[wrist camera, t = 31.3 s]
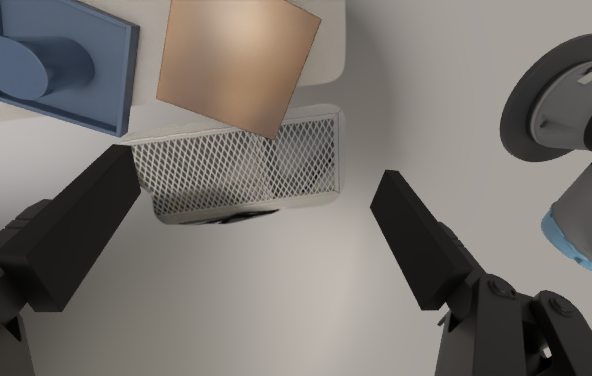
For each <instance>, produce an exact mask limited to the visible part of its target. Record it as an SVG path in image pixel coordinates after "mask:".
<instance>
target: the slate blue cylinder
mask: <svg viewBox="0 0 592 376" xmlns="http://www.w3.org/2000/svg"><path fill="white" fill-rule="evenodd" d="M93 76H94V64H93V61H92V59H91V57H90V55H89V54H88V52H87V51H86V50H85V49H84V48H83V47H82V46H81V45H80V44H78V43H77V42H75V41H74V40H72V39H69V38H67V37H62V36H0V90H1V91H3V92H4V93H6V94H8V95H10V96H13V97H16V98H19V99H25V100H31V99H37V98H40V97H44V96H47V95H51V94H55V93H58V92H62V91H65V90H69V89H73V88H76V87H80V86H84V85H86V84H88V83H89V82H90V81H91V80H92V78H93Z"/></svg>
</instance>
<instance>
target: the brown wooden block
mask: <svg viewBox="0 0 592 376" xmlns="http://www.w3.org/2000/svg"><path fill="white" fill-rule="evenodd" d="M320 23H321V19H320V18H319V17H317V16H315V15H313V14H311V13H309V12H307V11H305V10H303V9H302V8H300V7H298V6H296V5H294V4H292V3H290V2H288V1H286V0H171V6H170V13H169V19H168V25H167V32H166V38H165V45H164V51H163V57H162V64H161V70H160V76H159V83H158V89H157V96H156V99H159V100H162V101H164V102H167V103H170V104H173V105H176V106H178V107H181V108H184V109H187V110H190V111H193V112H196V113H198V114H201V115H204V116H207V117H209V118H212V119H215V120H218V121H221V122H223V123H226V124H229V125H232V126H235V127H237V128H240V129H243V130H246V131H249V132H252V133H254V134H257V135H260V136H263V137H266V138H268V139H271V140H275V138H276V135H277V133H278V130H279V128H280V125H281V123H282V120H283V117H284V115H285V112H286V110H287V107H288V105H289V102H290V100H291V97H292V94H293V92H294V89H295V87H296V84H297V82H298V79H299V76H300V74H301V71H302V69H303V66H304V64H305V61H306V58H307V56H308V53H309V51H310V48H311V46H312V43H313V41H314V38H315V35H316V33H317V30H318V28H319V25H320Z"/></svg>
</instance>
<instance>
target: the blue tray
mask: <svg viewBox="0 0 592 376" xmlns="http://www.w3.org/2000/svg"><path fill="white" fill-rule="evenodd" d="M139 28H140V27H139V26H137V25H135V24H132V23H130V22H127V21H125V20H123V19H120V18H118V17H116V16H113V15H111V14H109V13H106V12H104V11H101V10H99V9H97V8H94V7H92V6H90V5H87V4H85V3H83V2H80V1H78V0H0V36H62V37H67V38H69V39H72V40H74V41H75V42H77V43H78V44H80V45H81V46H82V47H83V48H84V49H85V50H86V51H87V52H88V54H89V55H90V57H91V59H92V61H93V64H94V76H93V78H92V80H91V81H90V82H89V83H88V84H86V85H84V86H80V87H76V88H73V89H69V90H65V91H62V92H58V93H55V94H51V95H47V96H44V97H40V98H37V99H31V100H25V99H19V98H16V97H13V96H10V95H8V94H6V93H4V92H3V91H1V90H0V101H1V102H4V103H7V104H11V105H14V106H17V107H21V108H24V109H27V110H31V111H34V112H37V113H40V114H44V115H47V116H50V117H54V118H57V119H60V120H64V121H67V122H70V123H73V124H77V125H80V126H83V127H87V128H90V129H93V130H96V131H100V132H103V133H107V134H110V135H113V136H116V137H122V136H123V135H125V134H126V133H127V132H128V124H129V116H130V107H131V98H132V89H133V81H134V72H135V63H136V54H137V46H138V37H139Z"/></svg>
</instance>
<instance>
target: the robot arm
mask: <svg viewBox="0 0 592 376" xmlns="http://www.w3.org/2000/svg"><path fill="white" fill-rule="evenodd" d="M526 131H527V134H528V136H529V138H530V139H531V140H532V141H534V142H535V143H538V144H540V145H543V146H545V147H550V148H562V149H578V150H589V151H592V60H586V61H581V62H578V63H575V64H573V65H571V66H569V67H567V68H565V69H564V70H562V71H561V72H559V73H558V74H556V75H555V76H554V77H553V78H552V79H551V80H550V81H548V82H547V84H546V85H545V86H544V87H543V88H542V89H541V90H540V92H539V93H538V94H537V96H536V97H535V99H534V101H533V102H532V104H531V106H530V109H529V111H528V114H527V118H526ZM140 193H141V189H140V185H139V180H138V176H137V172H136V167H135V163H134V159H133V154H132V150H131V146H127V145H115V144H113V145H112V146H110V147H109V148H108V149H107V150H106V151H105V152H104V153H103V154H102V155H101V156H100V157H99V158H97V159H96V160H95V161H94V162H93V163H92V164H91V165H90V166H89V167H88V168H87V169H86V170H84V171H83V172H82V173H81V174H80V175H79V176H78V177H77V178H76V179H75V180H74V181H72V183H70V184H69V185H68V186H67V187H66V188H65V189H64V190H63V191H62V192H61V193H59V195H57V196H56V197H55V198H54V199H53V200H48V199H43V200H41V201H40V202H38V203H36V204H34V205H32V206H30V207H28V208H26V209H25V210H24V211H23V212H22V213H21V214H19V215H18V216H17V217H16V218H15V220H12V221H11V222H10V223H9V224H8V225H7V226H5V229H2V230H1V231H0V376H35V373H34V369H33V364H32V360H31V355H30V350H29V346H28V341H27V337H26V333H25V328H24V324H23V319H22V317H21V316H20V314H19V312H20V310H21V309H22V308H23V307H24V305H25V304H26V303H27V302H28V303H29V305H30V306H31V307H32V309H33V310H34V311H35V312H62V311H63V309H64V308H65V306H66V305H67V303H68V302H69V300H70V299H71V297H72V296H73V294H74V293H75V291H76V290H77V288H78V287H79V285H80V284H81V282H82V280H83V279H84V278H85V276H86V275H87V273H88V272H89V270H90V269H91V267H92V266H93V264H94V263H95V261H96V260H97V258H98V256H99V255H100V254H101V252H102V251H103V249H104V247H105V246H106V244H107V243H108V241H109V240H110V238H111V237H112V235H113V234H114V232H115V231H116V229H117V228H118V226H119V225H120V223H121V222H122V220H123V219H124V217H125V216H126V214H127V213H128V211H129V210H130V208H131V207H132V205H133V204H134V202H135V201H136V199H137V197H138V196H139V195H140ZM370 209H371V210H372V213H373V215H374V217H375V218H376V221H377V222H378V225H379V227H380V228H381V230H382V233H383V235H384V237H385V239H386V241H387V242H388V245H389V247H390V249H391V250H392V252H393V254H394V256H395V258H396V260H397V262H398V264H399V266H400V268H401V270H402V272H403V274H404V276H405V278H406V280H407V282H408V284H409V286H410V288H411V290H412V292H413V294H414V296H415V298H416V300H417V302H418V304H419V306H420V308H421V310H439V309H440V308H441V306H442V305H443V304H444V303H445V302H446V303H447V305H448V307H449V308H450V310H449V311H448V312H447V314H445V316H444V317H443V318H442V319H441V320H440V321H439V323H438V325H439V326H441V325H442V324H443V323H444V329H443V334H442V339H441V344H440V350H439V355H438V360H437V365H436V371H435V376H592V330H591V329H590V327H589V326H588V324H587V322H586V320H585V319H584V317H583V315H582V314H581V313H580V311H579V310H578V309H577V308H576V307H575V306H574V305H573V304H572V303H571V302H570V301H569V300H567V299H565V298H564V297H562V296H561V295H558V294H556V293H554V292H551V291H547V290H544V291H540V292H539V293H538V294H537V295H536V296H534V297H531V296H528V295H524V294H521V293H518V292H516V290H515V289H514V288H513V287H512V286H511V285H510V284H509V283H508V282H506V281H505V280H503V279H502V278H500V277H498V276H495V275H493V274H487V273H486V272H485V271H484V270H483V268H482V267H481V266H480V265H479V263H478V262H477V261H476V260H475V259H474V257H473V256H472V255H471V254H470V252H469V251H468V250H467V249H466V248H465V247H464V245H463V244H462V243H461V241H460V240H458V238H457V236H456V235H455V234H454V233H453V231H452V230H451V229H450V228H448V227H447V226H446V225H444V224H443V223H442V222H437V220H436V219H435V218H434V216H433V215H432V214H431V213H430V211H429V210H428V209H427V208H426V206H425V205H424V204H423V203H422V201H421V200H420V198H419V197H418V196H417V195H416V193H415V192H414V191H413V189H412V188H411V187H410V186H409V184H408V183H407V182H406V181H405V179H404V178H403V177H402V175H401V174H400V173H399V171H394V170H385V172H384V174H383V177H382V179H381V182H380V184H379V186H378V189H377V191H376V194H375V196H374V198H373V201H372V203H371V206H370ZM541 229H542V231H543V233H544V235H545V236H546V238H547V239H548V240H549V241H550V242H551V243H552V244H553V245H554V246H555V247H556V248H557V249H558V250H560V251H561V252H562V253H563V254H565V255H566V256H567V257H569V258H571V259H574V260H576V261H577V263H578V264H580V265H582V266H583V267H585V268H587V269H589V270H591V271H592V163H591V164H590V165H589V166H588V167H587V168H586V169H585V170H584V172H583V173H582V174H581V175H580V176H579V177H578V178H577V179H576V181H575V182H574V183H573V184H572V185H571V186H570V187H569V188H568V189H567V191H566V192H565V193H564V194H563V195H562V196H561V197H560V198H559V199H558V201H556V202H554V203H553V204H552V205H551V207H550V210H549V211H548V213H547V214H546V215H545V216H544V218H543V219H542V222H541ZM547 347H549V349H550V351H551V354H552V356H551V357H549V358H547V357H546V356H545V354H544V351H543V350H544V349H545V348H547Z"/></svg>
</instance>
